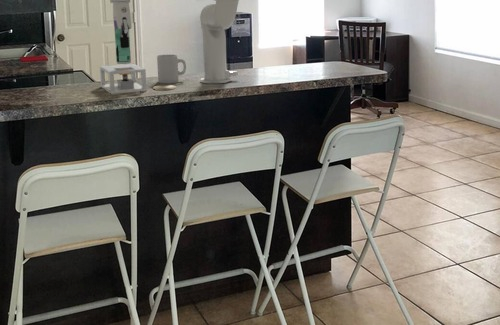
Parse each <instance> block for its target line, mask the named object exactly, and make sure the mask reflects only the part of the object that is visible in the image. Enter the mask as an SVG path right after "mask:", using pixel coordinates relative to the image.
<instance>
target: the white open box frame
mask: <svg viewBox="0 0 500 325" xmlns="http://www.w3.org/2000/svg"><path fill="white" fill-rule="evenodd" d="M146 71H147V70H146V69H145V68H144V67H141V66H140V65H138V64H135V63H129V64H112V65H99V73H100V74H99V75H100V88H102V89H103V90H105V91H106V92H108V93H109V94H110V93H111V94H110V95H115V94H125V93H126V94H128V93H138V92H140V91H141V92H147V89H148V88H147V75H146V74H147V72H146ZM106 73H107V74H108V77H109V78H108V82H109V83H106ZM124 73H131V74H130V78H128V81H123V79H117V81H116V82H117V83H115V75H119V74H124ZM136 73H140V80H141V84H139V83H138V82H137V80H136ZM141 92H140V93H141Z"/></svg>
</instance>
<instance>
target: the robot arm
mask: <svg viewBox="0 0 500 325" xmlns="http://www.w3.org/2000/svg"><path fill="white" fill-rule="evenodd" d="M214 1H215V3H213V4H212V3H211V4H210V3H209V4H207V5H206V6H204V7H203V8H202V10H201V11H200V13H199V15H200V16H199V18H200V20H199V22H200V27H201V33H202V46H203V47H202V54H203V55H202V56H203V60H202V61H203V77H202V78H200V79H199V80H200V82H201V83H202V84H203V83H204V84H226V83H230V82H231V77H237V76H238V71H237V70H236V71H234V70H233V71H230V70H228V69H227V38H226V30H228V29H229V28H231V27H232V26H233V25H234V23H235V20H236V15H237V10H238V5H239V1H240V0H214ZM109 3H110V4H112V16H113V18H112V20H113V22H114V17H116V22H117V27H118V29H120V34H121V37H120V44H121V48H129V38H130V34H129V35H128V29H129V30H131V29H132V27H133V26H132V18H131V17H132V16H131V10H130V3H131V0H110V1H109ZM127 24H128V26H127ZM122 27H124V29H121V28H122ZM128 27H129V28H128ZM122 31H123V33H122Z"/></svg>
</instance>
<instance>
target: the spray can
mask: <svg viewBox="0 0 500 325" xmlns="http://www.w3.org/2000/svg"><path fill="white" fill-rule="evenodd" d="M113 26H114V27H113V28H114V41H115V56H116V57H115V58H116V65H124V64H132V57H131V44H130V43H131V42H130V38H131V37H129V48H121V44H120V37H121V34H120V29H118V27H117V22H116V17H114V21H113ZM127 26H128V24H127ZM128 28H129V27H128ZM121 29H124V27H122V28H121ZM122 33H123V31H122ZM128 35H129V36H130V29H128Z"/></svg>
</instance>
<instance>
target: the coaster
mask: <svg viewBox="0 0 500 325" xmlns="http://www.w3.org/2000/svg"><path fill="white" fill-rule="evenodd" d="M176 88H177V86H176V85H172V84H163V85H162V84H161V85H155V86H153V87H152V89H153V90H154V89H155V90H154V91H171V90H175V89H176Z"/></svg>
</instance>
